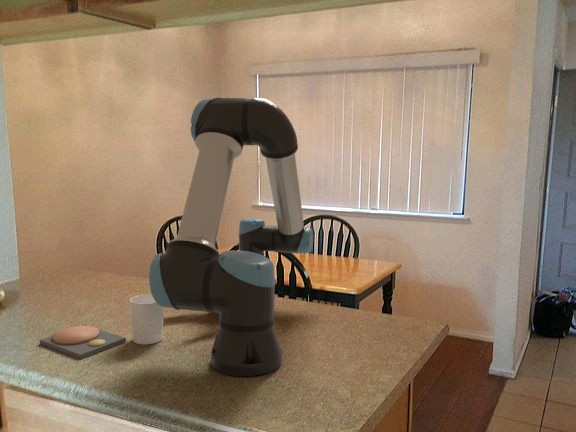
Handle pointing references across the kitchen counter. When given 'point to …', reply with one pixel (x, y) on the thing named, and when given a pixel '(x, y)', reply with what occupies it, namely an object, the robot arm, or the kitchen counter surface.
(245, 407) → the kitchen counter surface
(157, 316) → the white cup
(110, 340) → the board
